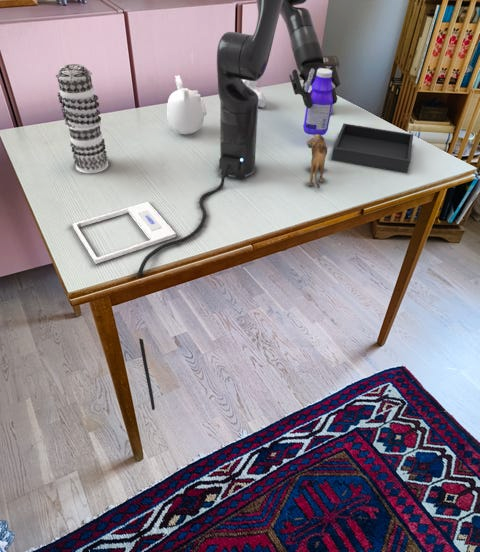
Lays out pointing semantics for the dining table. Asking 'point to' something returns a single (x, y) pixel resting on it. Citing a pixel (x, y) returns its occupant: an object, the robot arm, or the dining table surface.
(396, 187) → the dining table surface
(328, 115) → the bottle
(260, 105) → the bust
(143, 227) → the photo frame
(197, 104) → the piggy bank
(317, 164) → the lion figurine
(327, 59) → the coffee box
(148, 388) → the robot arm
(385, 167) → the shallow square tray
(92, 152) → the decorative candle
